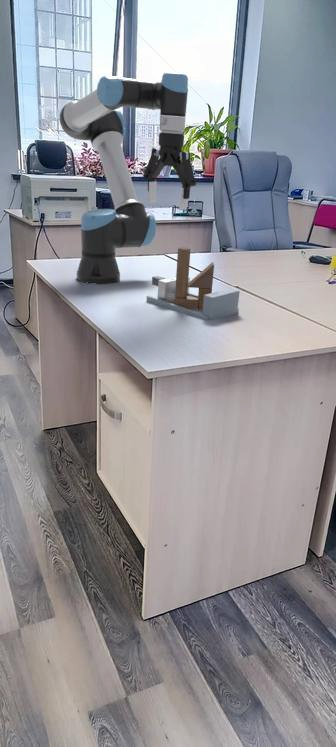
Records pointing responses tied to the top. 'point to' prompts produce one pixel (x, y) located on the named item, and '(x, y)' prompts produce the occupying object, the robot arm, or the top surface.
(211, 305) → the vise base
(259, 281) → the top surface
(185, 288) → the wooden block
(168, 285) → the sliding jaw
